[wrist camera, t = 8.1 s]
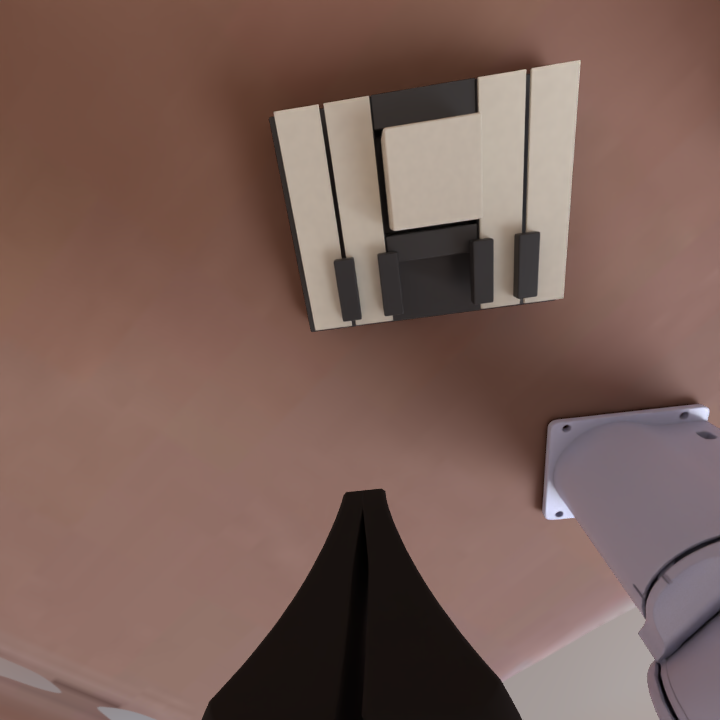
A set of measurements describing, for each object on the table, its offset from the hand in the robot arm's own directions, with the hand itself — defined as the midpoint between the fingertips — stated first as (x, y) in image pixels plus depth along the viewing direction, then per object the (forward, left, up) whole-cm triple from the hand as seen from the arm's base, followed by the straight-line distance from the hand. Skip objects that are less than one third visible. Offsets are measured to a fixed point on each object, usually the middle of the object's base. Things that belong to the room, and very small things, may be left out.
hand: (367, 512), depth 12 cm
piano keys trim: (-4, -9, -7) cm, 12 cm away
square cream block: (-4, -11, -8) cm, 14 cm away
